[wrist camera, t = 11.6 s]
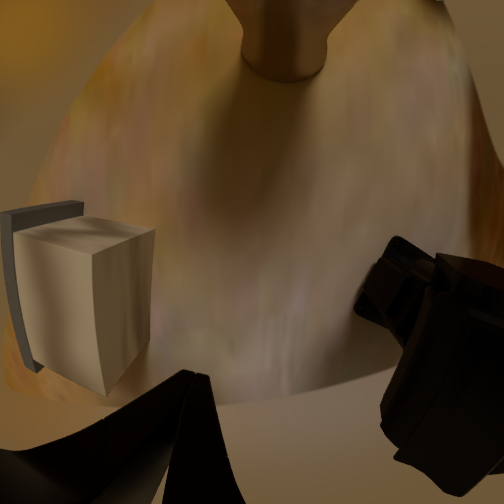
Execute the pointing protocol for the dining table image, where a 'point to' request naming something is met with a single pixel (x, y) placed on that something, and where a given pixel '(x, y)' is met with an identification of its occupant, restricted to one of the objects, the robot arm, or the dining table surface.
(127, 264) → the maple block
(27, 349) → the backstop board
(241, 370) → the dining table surface
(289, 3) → the beer glass
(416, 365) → the robot arm
